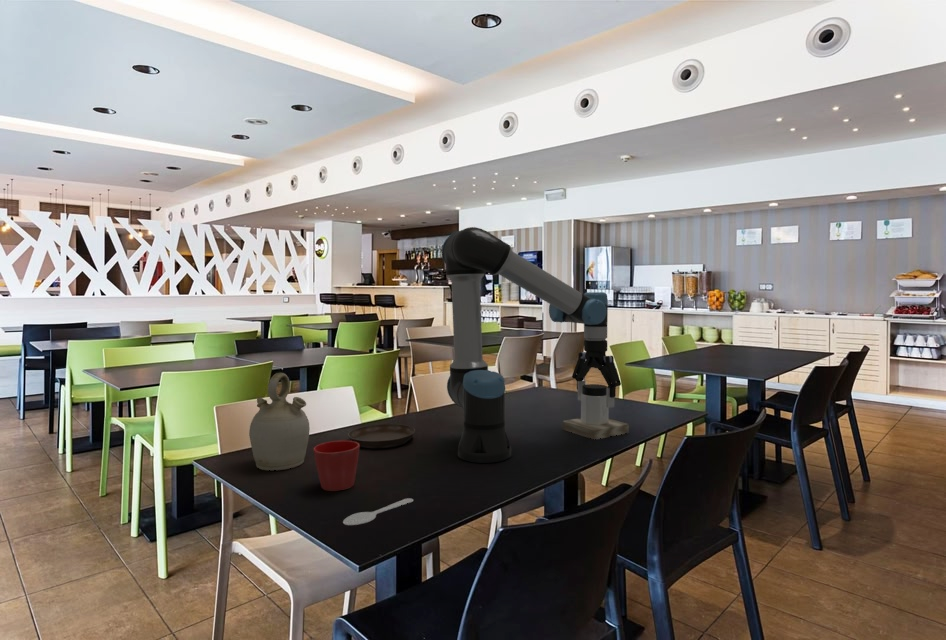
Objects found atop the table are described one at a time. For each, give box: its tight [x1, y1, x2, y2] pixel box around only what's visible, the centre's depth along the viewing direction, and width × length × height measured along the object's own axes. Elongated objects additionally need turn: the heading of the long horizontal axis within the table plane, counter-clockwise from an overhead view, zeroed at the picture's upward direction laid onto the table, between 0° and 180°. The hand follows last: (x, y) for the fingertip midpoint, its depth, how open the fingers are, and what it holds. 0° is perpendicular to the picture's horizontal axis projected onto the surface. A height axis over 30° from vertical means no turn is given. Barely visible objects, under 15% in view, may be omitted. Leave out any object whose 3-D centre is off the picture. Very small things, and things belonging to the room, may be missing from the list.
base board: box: [562, 417, 630, 441], centre depth 183 cm, size 15×15×3 cm
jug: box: [248, 372, 310, 472], centre depth 150 cm, size 15×16×25 cm
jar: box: [580, 383, 610, 425], centre depth 183 cm, size 9×8×12 cm
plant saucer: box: [347, 423, 416, 449], centre depth 173 cm, size 21×21×3 cm
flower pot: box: [313, 440, 361, 492], centre depth 133 cm, size 11×11×10 cm
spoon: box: [342, 497, 414, 526], centre depth 118 cm, size 5×18×1 cm, turn 138°
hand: (595, 403), depth 182 cm, fingers open, 13 cm apart
